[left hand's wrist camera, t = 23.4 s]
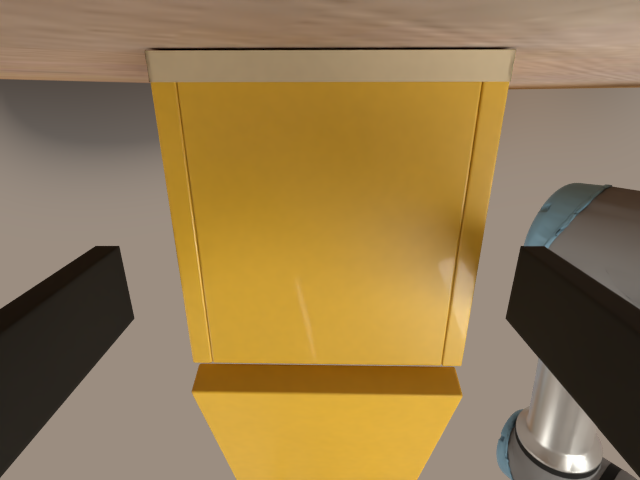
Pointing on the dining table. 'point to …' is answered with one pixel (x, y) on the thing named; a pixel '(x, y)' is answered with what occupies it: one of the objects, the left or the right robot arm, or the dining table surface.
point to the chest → (329, 198)
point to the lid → (326, 418)
